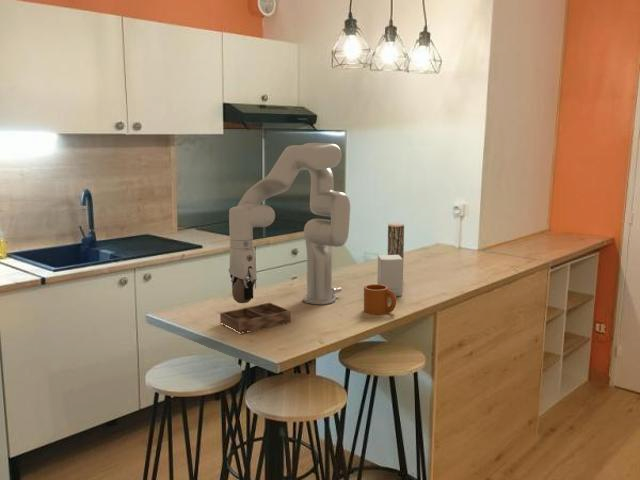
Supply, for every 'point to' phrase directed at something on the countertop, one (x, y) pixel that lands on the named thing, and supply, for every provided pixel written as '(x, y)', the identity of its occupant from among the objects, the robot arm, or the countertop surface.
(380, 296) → the mug
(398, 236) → the bark covered log
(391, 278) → the supplement box
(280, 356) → the countertop surface
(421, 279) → the countertop surface
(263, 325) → the divided wooden tray
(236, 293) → the vase
